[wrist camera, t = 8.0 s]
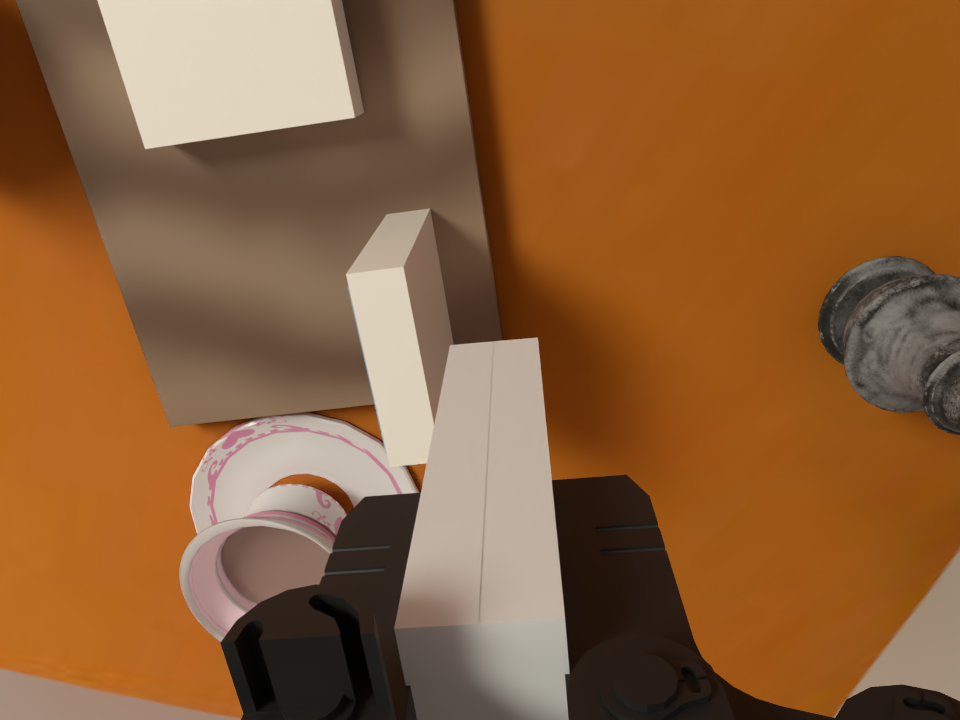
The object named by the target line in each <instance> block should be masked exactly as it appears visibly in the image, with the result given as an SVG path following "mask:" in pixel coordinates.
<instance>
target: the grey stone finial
mask: <svg viewBox="0 0 960 720" xmlns="http://www.w3.org/2000/svg"><path fill="white" fill-rule="evenodd" d="M818 329H819V334H820V339H821V341H822V343H823V345H824V347H825V348H826V350H827V352H828V353H829V354H830V355H831V356H832V357H834V358H835V359H836V360H837V361H838V362H840V363H842V364H844V366H845V371H846V376H847V378H848V380H849V382H850V383H851V385H852V387H853V389H854V390H855V391H856V392H857V393H858V394H859V395H860V396H861V397H862V398H863V399H864V400H866V401H867V402H868V403H870V404H872V405H874V406H877V407H879V408H881V409H883V410H889V411H894V412H900V413H905V412H921V411H925V413H926V415H927V416H928V418H929V420H930V421H931V422H932V423H933V424H935V425H936V426H937V427H938V428H939V429H941V430H943V431H946V432H948V433H950V434H956V435H960V277H956V276H950V275H945V274H940V275H936V274H935V273H934V272H933V271H932V270H931V269H930V268H929V267H928V266H926V265H924V264H922V263H920V262H918V261H916V260H914V259H910V258H905V257H899V256H893V257H880V258H877V259H874V260H870V261H867V262H864V263H862V264H860V265H859V266H857V267H855V268H853V269H852V270H850V271H848V272H847V273H846V274H845V275H844V276H843V277H841V278H840V279H839V280H838V281H837V282H836V283H835V284H834V285H833V287H832V288H831V290H830V291H829V292H828V294H827V295H826V297H825V299H824V302H823V304H822V307H821V309H820V313H819V322H818Z"/></svg>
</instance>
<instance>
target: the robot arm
mask: <svg viewBox="0 0 960 720" xmlns="http://www.w3.org/2000/svg"><path fill="white" fill-rule="evenodd" d="M332 549H333V551H332V553H330V555H329V558H328V561H327V564H326V567H325V570H324V572H325V574H324V576H322V578H321V581H320V584H319V585H318V584H315V585H310V586H305V587H300V588H295V589H290V590H286V591H284V592H282V593H280V594H277V595H275V596H273V597H271V598H268V599H266V600H264V601H262V602H260V603H258V604H257V605H256V606H255V607H253V608H252V609H251V610H249V611H248V612H247V613H246V614H244V615H243V616H242V617H240V618H239V619H238V620H237V621H236V622H235V623H234V625H233V626H232V627H231V629H230V630H229V632H228V633H227V634H226V636H225V637H224V638H223V640H222V641H221V646H222V649H223V652H224V655H225V658H226V661H227V664H228V667H229V670H230V674H231V677H232V680H233V683H234V686H235V689H236V692H237V695H238V698H239V701H240V704H241V707H242V710H243V713H244V714H243V716H242V719H241V720H960V701H958V700H956V699H953V698H951V697H949V696H947V695H945V694H943V693H940V692H937V691H932V690H927V689H922V688H917V687H912V686H907V685H892V686H879V687H870V688H868V689H866V690H864V691H862V692H860V693H858V694H857V695H854V696H853V697H851V698H849V699H847V700H846V701H845V703H844V705H843V706H842V708H841V710H840V711H839V713H838V714H837V716H836V718H832V717H827V716H823V715H818V714H814V713H809V712H805V711H800V710H796V709H791V708H787V707H782V706H779V705H775V704H772V703H769V702H766V701H763V700H759V699H756V698H754V697H752V696H750V695H748V694H746V693H744V692H743V691H741V690H739V689H737V688H735V687H733V686H732V685H730V684H729V683H728V682H727V681H725V680H724V679H723V678H721V677H720V676H719V675H718V674H716V673H715V672H714V670H713V669H712V667H711V665H709V664H708V663H707V662H706V661H705V660H704V659H703V658H702V656H701V654H700V652H699V650H698V648H697V646H696V644H695V642H694V639H693V636H692V632H691V629H690V626H689V623H688V619H687V616H686V613H685V610H684V606H683V603H682V600H681V597H680V594H679V590H678V587H677V584H676V581H675V577H674V574H673V571H672V568H671V564H670V561H669V558H668V555H667V552H666V551H665V545H664V542H663V539H662V535H661V532H660V529H659V528H658V522H657V519H656V516H655V513H654V509H653V506H652V503H651V500H650V497H649V495H648V494H647V493H645V492H644V491H643V490H642V489H641V488H640V487H639V486H638V485H637V484H636V483H635V482H634V481H633V480H631V479H630V478H629V477H628V476H627V475H618V476H605V477H591V478H577V479H563V480H552V478H551V468H550V458H549V447H548V437H547V427H546V416H545V406H544V396H543V385H542V375H541V365H540V354H539V344H538V337H537V338H526V339H515V340H503V341H492V342H481V343H469V344H458V345H450V348H449V353H448V358H447V363H446V368H445V373H444V378H443V383H442V388H441V393H440V399H439V404H438V409H437V414H436V419H435V424H434V429H433V434H432V439H431V444H430V449H429V454H428V460H427V465H426V470H425V475H424V480H423V485H422V490H421V493H408V494H394V495H380V496H366V497H364V498H363V499H362V500H361V501H360V502H359V503H358V504H357V505H356V506H355V507H354V508H353V509H352V510H351V511H350V513H349V514H348V515H347V516H346V517H345V518H344V519H343V520H342V521H341V524H340V527H339V530H338V533H337V536H336V538H335V541H334V544H333V547H332Z"/></svg>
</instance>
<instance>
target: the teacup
mask: <svg viewBox="0 0 960 720" xmlns="http://www.w3.org/2000/svg"><path fill="white" fill-rule="evenodd" d="M297 474H310V475H315V476H319V477H323V478H325V479H327V480H329V481H331V482H333V483H335V484H337V485H338V486H339V487H340V488H341V489H342V490H343V491H344V492H345V493H346V494H347V495H348V497H349V499H350V501H351V502H352V504H353V506H354V507H355V506H356V505H357V504H358V503H359V502H360V501H361V500H362V499H363V498H364V497H366V496H380V495H394V494H408V493H420V492H419V491H418V489H417V487H416V485H415V483H414V481H413V479H412V477H411V475H410V473H409V471H408V469H407V467H406V466H395V467H390V465H389V461H388V457H387V452H386V449H385V448H384V444H383V443H382V442H381V441H380V440H379V439H377V438H375V437H373V436H372V435H370V434H368V433H366V432H364V431H362V430H361V429H359V428H357V427H355V426H353V425H352V424H350V423H348V422H346V421H342V420H338V419H333V418H329V417H325V416H321V415H317V414H313V413H308V412H303V413H291V414H282V415H273V416H264V417H259V418H256V419H253V420H250V421H248V422H245V423H242V424H239V425H236V426H235V427H233V428H232V429H231V430H230V431H228V432H227V433H226V434H225V435H223V436H222V437H221V438H220V439H219V440H217V441H216V442H215V443H214V444H212V445H211V446H210V447H209V448H208V450H207V452H206V453H205V455H204V457H203V459H202V461H201V463H200V464H199V466H198V468H197V470H196V472H195V473H194V475H193V479H192V489H191V498H190V510H191V513H192V517H193V521H194V524H195V528H196V532H197V535H196V536H195V537H194V538H193V539H192V541H191V542H190V543H189V545H188V546H187V548H186V550H185V551H184V554H183V556H182V559H181V563H180V571H179V577H180V585H181V589H182V593H183V596H184V598H185V601H186V603H187V605H188V607H189V608H190V610H191V612H192V613H193V615H194V616H195V618H196V619H197V620H198V621H199V623H200V624H201V625H202V626H203V627H204V628H205V629H206V630H207V631H208V632H209V633H210V634H211V635H213V636H214V637H215V638H216V639H217V640H219V641H220V642H221V641H222V640H223V638H224V637H225V636H226V634H227V633H228V632H229V630H230V629H231V627H232V626H233V625H234V623H235V622H236V621H237V620H238V619H239V618H240V617H242V616H243V615H244V614H246V613H247V612H248V611H249V610H251V609H252V608H253V607H255V606H256V605H257V604H258V603H260V602H262V601H264V600H266V599H268V598H271V597H273V596H275V595H277V594H280V593H282V592H284V591H286V590H290V589H295V588H300V587H305V586H310V585H315V584H318V585H319V584H320V581H321V578H322V576H324V574H325V572H324V570H325V567H326V564H327V561H328V558H329V555H330V553H332V551H333V549H332V547H333V544H334V541H335V538H336V536H337V533H338V530H339V527H340V524H341V521H342V520H343V519H344V518H345V517H346V516H347V514H346V512H345V511H344V509H343V508H342V507H341V505H340V504H339V503H338V502H337V501H336V500H334V499H333V498H332V497H331V496H329V495H328V494H326V493H324V492H322V491H320V490H318V489H316V488H313V487H310V486H306V485H300V484H284V485H278V486H274V487H271V486H272V485H274V484H275V483H276V482H278V481H279V480H280V479H282V478H285V477H288V476H291V475H297ZM270 487H271V488H270Z"/></svg>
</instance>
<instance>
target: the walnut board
mask: <svg viewBox="0 0 960 720" xmlns="http://www.w3.org/2000/svg"><path fill="white" fill-rule="evenodd" d="M16 3H17V5H18V8H19V11H20V14H21V16H22V19H23V22H24V25H25V27H26V30H27V33H28V36H29V38H30V41H31V44H32V47H33V50H34V52H35V55H36V58H37V61H38V63H39V66H40V69H41V72H42V74H43V77H44V80H45V83H46V85H47V88H48V91H49V94H50V97H51V99H52V102H53V105H54V108H55V110H56V113H57V116H58V119H59V121H60V124H61V127H62V130H63V132H64V135H65V138H66V141H67V144H68V146H69V149H70V152H71V155H72V157H73V160H74V163H75V166H76V168H77V171H78V174H79V177H80V179H81V182H82V185H83V188H84V190H85V193H86V196H87V199H88V202H89V204H90V207H91V210H92V213H93V215H94V218H95V221H96V224H97V226H98V229H99V232H100V235H101V237H102V240H103V243H104V246H105V249H106V251H107V254H108V257H109V260H110V262H111V265H112V268H113V271H114V273H115V276H116V279H117V282H118V284H119V287H120V290H121V293H122V296H123V298H124V301H125V304H126V307H127V309H128V312H129V315H130V318H131V320H132V323H133V326H134V329H135V331H136V334H137V337H138V340H139V343H140V345H141V348H142V351H143V354H144V356H145V359H146V362H147V365H148V367H149V370H150V373H151V376H152V378H153V381H154V384H155V387H156V390H157V392H158V395H159V398H160V401H161V403H162V406H163V409H164V412H165V414H166V417H167V420H168V423H169V425H170V427H174V426H183V425H192V424H201V423H210V422H219V421H228V420H237V419H246V418H255V417H264V416H273V415H282V414H291V413H300V412H309V411H318V410H327V409H336V408H345V407H354V406H363V405H372V404H374V400H373V396H372V392H371V387H370V383H369V378H368V374H367V370H366V365H365V361H364V357H363V352H362V348H361V343H360V339H359V335H358V330H357V326H356V322H355V317H354V313H353V308H352V304H351V300H350V295H349V291H348V287H347V286H348V281H347V277H346V273H347V272H348V270H349V269H350V267H351V266H352V265H353V263H354V262H355V260H356V259H357V257H358V256H359V254H360V253H361V251H362V250H363V248H364V247H365V245H366V244H367V243H368V241H369V240H370V238H371V237H372V235H373V234H374V232H375V231H376V229H377V228H378V226H379V225H380V223H381V222H382V221H383V219H384V218H385V216H386V215H387V214H393V213H400V212H408V211H415V210H422V209H430V210H431V216H432V222H433V228H434V234H435V239H436V245H437V251H438V257H439V263H440V268H441V274H442V280H443V286H444V291H445V297H446V303H447V309H448V315H449V320H450V326H451V332H452V338H453V344H454V345H458V344H469V343H481V342H492V341H503V335H502V328H501V321H500V314H499V307H498V300H497V293H496V286H495V279H494V272H493V265H492V258H491V251H490V244H489V237H488V230H487V223H486V215H485V208H484V201H483V194H482V187H481V180H480V173H479V166H478V159H477V152H476V145H475V138H474V131H473V124H472V117H471V110H470V103H469V96H468V89H467V82H466V75H465V68H464V61H463V54H462V47H461V40H460V33H459V26H458V19H457V12H456V4H455V0H342V4H343V9H344V14H345V19H346V24H347V29H348V34H349V39H350V44H351V49H352V54H353V59H354V64H355V69H356V74H357V79H358V84H359V89H360V94H361V99H362V104H363V109H364V113H363V114H361V115H359V116H357V117H355V118H350V119H343V120H336V121H330V122H323V123H316V124H310V125H303V126H296V127H290V128H283V129H276V130H270V131H263V132H256V133H250V134H243V135H236V136H230V137H223V138H216V139H209V140H203V141H196V142H189V143H183V144H176V145H169V146H163V147H156V148H149V149H145V147H144V144H143V141H142V138H141V135H140V132H139V129H138V125H137V122H136V119H135V116H134V113H133V110H132V107H131V104H130V101H129V97H128V94H127V91H126V88H125V85H124V82H123V79H122V76H121V72H120V69H119V66H118V63H117V60H116V57H115V54H114V51H113V48H112V44H111V41H110V38H109V35H108V32H107V29H106V26H105V23H104V20H103V16H102V13H101V10H100V7H99V4H98V1H97V0H16Z"/></svg>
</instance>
